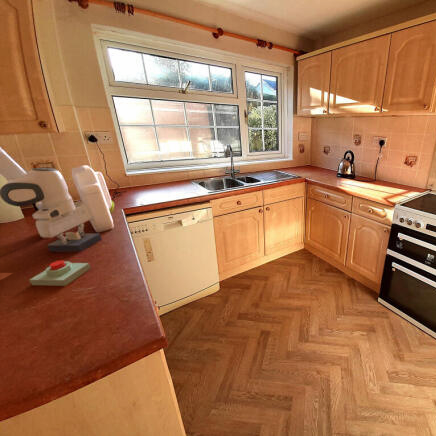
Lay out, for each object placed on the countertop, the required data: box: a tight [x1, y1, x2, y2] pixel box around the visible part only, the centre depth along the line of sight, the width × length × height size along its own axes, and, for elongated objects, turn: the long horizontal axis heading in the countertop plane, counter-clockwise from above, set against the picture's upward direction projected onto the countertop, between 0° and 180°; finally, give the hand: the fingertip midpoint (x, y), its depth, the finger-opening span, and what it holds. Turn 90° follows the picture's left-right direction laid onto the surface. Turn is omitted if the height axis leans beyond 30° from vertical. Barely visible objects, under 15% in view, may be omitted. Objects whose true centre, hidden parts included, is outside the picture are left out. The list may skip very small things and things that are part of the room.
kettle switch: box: [49, 259, 66, 270], centre depth 82 cm, size 4×4×2 cm
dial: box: [64, 231, 81, 240], centre depth 104 cm, size 5×1×3 cm, turn 86°
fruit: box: [109, 200, 115, 214], centre depth 139 cm, size 9×9×10 cm
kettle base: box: [29, 260, 92, 287], centre depth 83 cm, size 12×10×4 cm
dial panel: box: [46, 233, 103, 253], centre depth 105 cm, size 14×11×3 cm
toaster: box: [70, 164, 114, 233], centre depth 121 cm, size 27×11×30 cm, turn 44°
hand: (73, 237), depth 104 cm, fingers open, 6 cm apart
